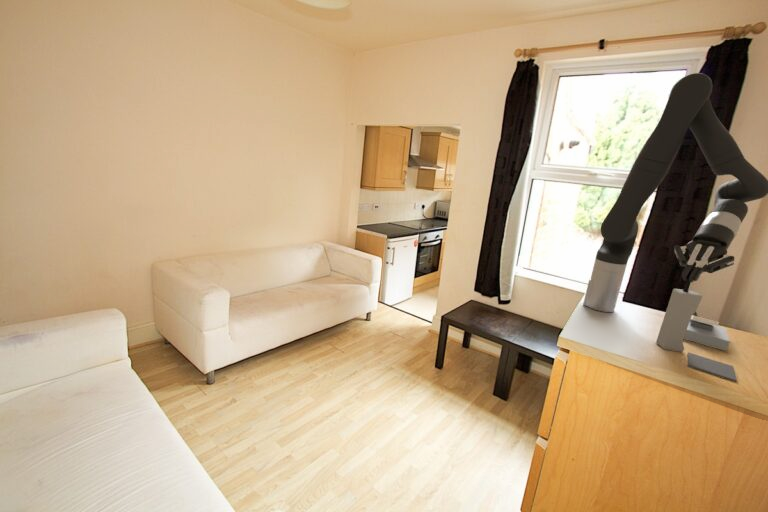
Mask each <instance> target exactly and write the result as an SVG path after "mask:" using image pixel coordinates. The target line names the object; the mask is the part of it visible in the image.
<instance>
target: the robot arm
mask: <svg viewBox="0 0 768 512" xmlns="http://www.w3.org/2000/svg"><path fill="white" fill-rule="evenodd" d="M712 93H713V81H712V79H711V78H710V76H708V75H707V74H705V73H702V72H694V73H690V74H689V73H688V74H687V75H685V76H683V77H681V78H679V79H678V80H677V81H676V82H675V83H674V84H673V86H672V87H671V89H670V91H669V93H668V99H667V100H666V101H667V102H666V104H665V107H664V109H663V111H662V114H661V117H660V119H659V121H658V123H657V124H656V126H655V128H654V130H653V131H652V132H651V134H650V135H649V136H648V137H647V139H646V141H645V143H644V144H643V146H642V148H641V149H640V151H639V153H638V154H637V157H636V158H635V161H634V162H633V164H632V166H631V168H630V171H629V173H628V175H627V177H626V179H625V181H624V183H623V186H622V189H621V191H620V193H619V195H618V197H617V199H616V201H615V203H614V204H613V206H612V207H611V209H609V210H610V211H608V213H607V215H606V216H605V218H604V220H603V221H602V222H601V224H600V234H601V236H602V238H603V240H602V243H601V246H600V247H599V249H598V250H597V252H596V256H595V259H594V265H593V269H592V270H591V271H592V272H591V274H590V275H591V276H590V279H589V280H588V283H587V286H586V291H585V295H584V299H583V303H582V305H583V306H586V307H587V308H590V309H592V310H595V311H598V312H605V313H613V312H614V311H615V310H616V309H615V308H616V307H617V302H618V297H619V294H620V289H621V287H622V282H623V280H624V275H625V272H626V269H627V265H628V262H629V259H630V257H631V256H632V252H633V249H634V245H635V243H636V241H637V240H636V239H637V236H638V234H639V224H638V221H637V218H638V215H639V214H640V211H642V210H641V209H642V208H643V206H644V204H645V203H646V202H647V201H648V199H649V198H650V197H651V196H652V195H653V194H654V193H655V191H656V190H657V189H658V187H660V185H661V184H662V182H663V180H665V177H666V176H667V174H668V173H669V170H670V168H671V166H672V165H673V163H674V160H675V158H676V156H677V155H678V152H679V149H680V148H681V145H682V143H683V140H684V138H685V135H686V133H687V131H688V129H690V131H691V132H692V135H693V137H695V140H696V142H697V144H698V146H699V148H700V151H701V152H702V154H703V156H704V158H705V160H706V162H707V163H708V166H709V167H710V169H711V171H712V172H713V174H714V175H715V176H728V175H729V176H732V177H734V178H736V179H733V180H729V181H727V182H724V183H723V184H721V185H720V186H719V187H718V188H717V189H716V191H715V198H714V203H713V204H714V205H713V207H712V209H711V211H710V212H709V214H708V215H707V216H706V218H704V220H703V222H702V223H701V225H700V226H699V228H698V229H697V231H696V233H695V234H694V236H693V237H692V239H691V241H689V242H688V243H686V244H685V245H683V246H680V245H678V244H676V245H674V254H675V256H676V258H677V261H678V263H679V266H680V267H681V268H684V269H683V270H682V272H681V278H682V281H684V282H685V281H686V282H687V280H688V278H689V282H691V283H694V282H697V281H698V280H699V278H700V277H701V275H702V274H703V273H708V274H713V273H716V272H718V271H720V270H724V269H725V268H729V267H730V266H733V265H735V256H733V255H729V254H728V249H729V247H730V245H731V244H732V242H733V240H734V239H735V238H736V236H737V234H738V232H739V230H740V227H741V224H742V223H743V221H744V219H745V218H746V217H747V214H748V212H749V207H748V205H747V204H746V203H748V202H752V201H757V200H760V199H762V198H765V197H766V196H767V195H768V179H767V178H766V176H765V175H764V174H762V173H761V172H760V171H759V170H758V169H757V168H755V166H753V165H752V164H751V162H749V161H748V160H747V159H746V158H745V156H744V155H743V152H742V151H741V149H740V147H739V145H738V144H737V141H736V140H735V139H734V137H733V136H732V135H731V133H730V132H729V131H728V129H726V127H725V125H723V123H722V122H721V121H720V119H719V118H718V116H717V115H716V112H715V110H714V107H713V105H712V102H711V100H710V99H711V98H710V96H711V94H712ZM686 252H687V254H688V256H689V259H688V260H687V258H686V257H685V255H684V254H685V253H686ZM694 262H696V263H697V264H696V266H695V268H694V270H693V272H692V273H691V275H690V272H691V269H692V266H693V263H694ZM689 275H690V277H689Z"/></svg>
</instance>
